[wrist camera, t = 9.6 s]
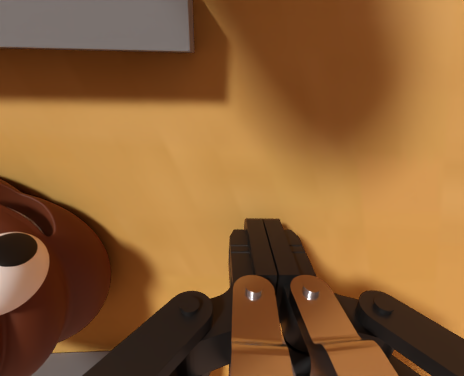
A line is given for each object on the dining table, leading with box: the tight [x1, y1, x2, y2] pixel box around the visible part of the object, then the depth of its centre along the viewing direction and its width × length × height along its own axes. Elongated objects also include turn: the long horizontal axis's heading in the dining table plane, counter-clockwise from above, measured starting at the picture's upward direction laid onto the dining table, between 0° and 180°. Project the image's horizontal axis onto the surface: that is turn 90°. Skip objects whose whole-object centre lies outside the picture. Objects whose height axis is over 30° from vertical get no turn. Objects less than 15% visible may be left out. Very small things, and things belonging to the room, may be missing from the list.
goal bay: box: [0, 0, 194, 376], centre depth 12 cm, size 17×20×2 cm
